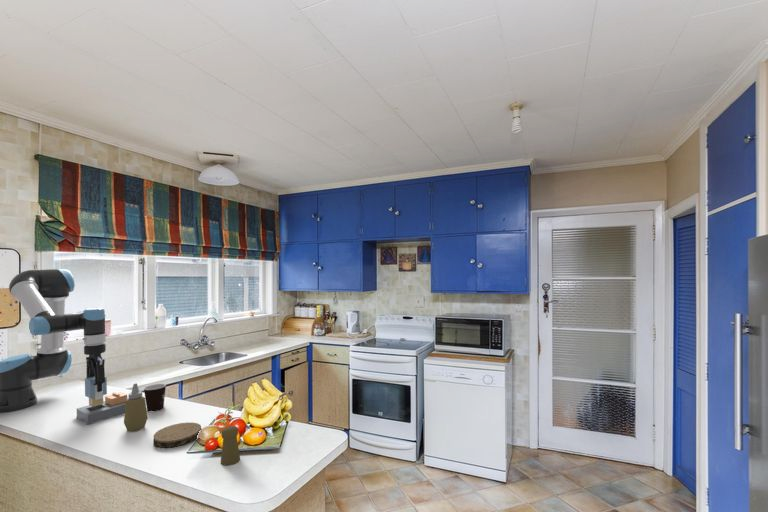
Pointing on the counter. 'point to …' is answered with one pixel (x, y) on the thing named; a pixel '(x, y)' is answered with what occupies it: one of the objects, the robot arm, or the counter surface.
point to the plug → (91, 391)
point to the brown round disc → (176, 435)
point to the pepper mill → (230, 446)
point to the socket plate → (100, 412)
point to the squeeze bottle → (135, 411)
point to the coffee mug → (155, 397)
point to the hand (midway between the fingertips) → (95, 397)
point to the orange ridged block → (115, 398)
